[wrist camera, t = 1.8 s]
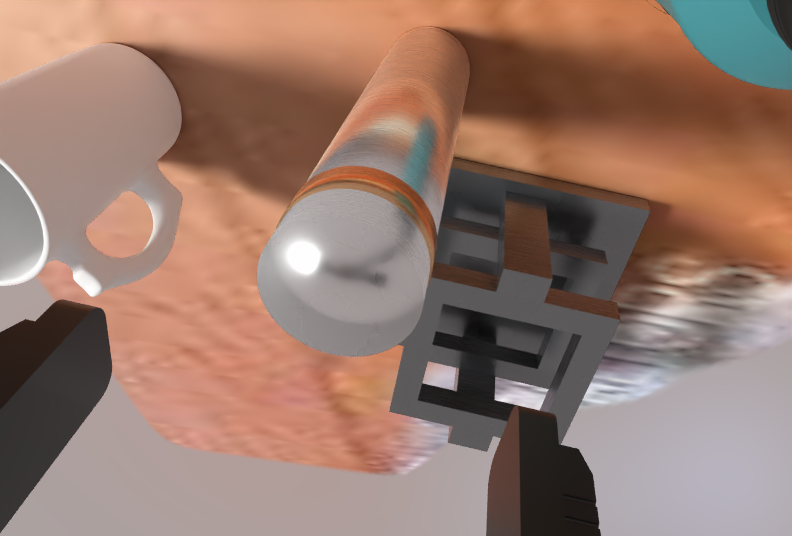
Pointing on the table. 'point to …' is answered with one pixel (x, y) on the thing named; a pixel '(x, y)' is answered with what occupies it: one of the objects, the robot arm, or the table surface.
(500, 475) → the robot arm
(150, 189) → the mug
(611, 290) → the collar stand
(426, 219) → the steel tube
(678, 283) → the table surface
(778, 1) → the beverage bottle
